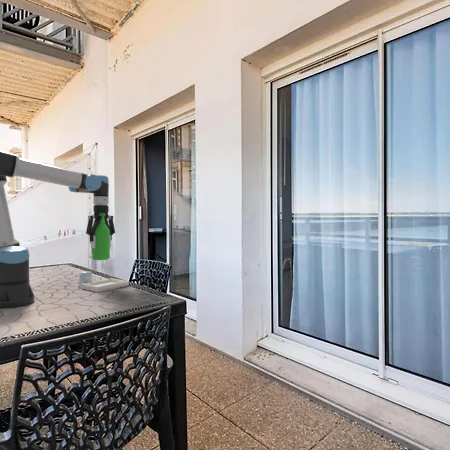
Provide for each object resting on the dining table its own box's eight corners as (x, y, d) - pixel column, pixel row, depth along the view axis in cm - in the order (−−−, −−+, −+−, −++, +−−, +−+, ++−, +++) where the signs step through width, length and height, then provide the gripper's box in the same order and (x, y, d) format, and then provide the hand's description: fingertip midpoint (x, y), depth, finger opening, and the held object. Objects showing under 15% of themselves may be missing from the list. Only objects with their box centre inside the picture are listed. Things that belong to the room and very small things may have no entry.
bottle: (106, 260, 168) (106, 212, 168) (89, 260, 168) (89, 212, 168) (112, 258, 177) (112, 212, 177) (96, 258, 177) (96, 212, 177)
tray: (97, 292, 155) (97, 287, 155) (80, 288, 164) (80, 283, 164) (128, 285, 169) (128, 281, 169) (111, 282, 178) (111, 278, 178)
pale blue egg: (83, 287, 167) (83, 273, 166) (77, 285, 170) (76, 272, 170) (94, 285, 171) (93, 272, 171) (87, 284, 175) (87, 271, 175)
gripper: (86, 203, 161) (86, 249, 161) (122, 205, 179) (122, 246, 179) (78, 204, 165) (78, 248, 166) (113, 205, 183) (113, 245, 183)
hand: (101, 247), depth 172 cm, fingers closed on bottle, 9 cm apart
